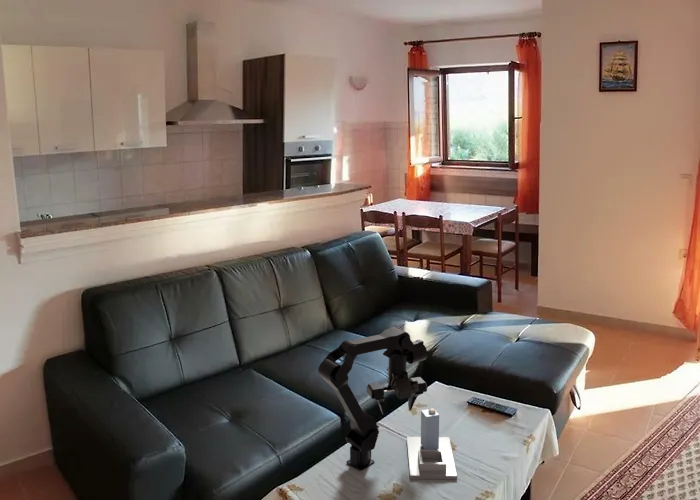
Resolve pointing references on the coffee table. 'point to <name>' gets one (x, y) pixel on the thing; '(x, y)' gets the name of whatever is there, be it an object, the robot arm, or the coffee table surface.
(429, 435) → the block
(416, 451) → the plate
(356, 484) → the coffee table surface
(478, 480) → the coffee table surface
